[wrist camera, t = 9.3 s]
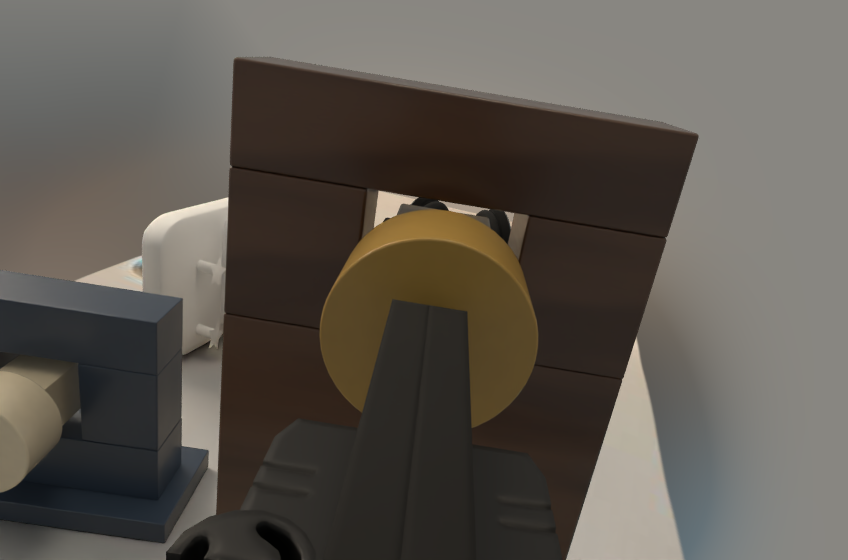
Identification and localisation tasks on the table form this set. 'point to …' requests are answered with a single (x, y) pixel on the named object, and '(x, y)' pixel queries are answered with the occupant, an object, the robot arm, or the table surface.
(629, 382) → the table surface
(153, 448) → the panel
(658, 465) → the table surface
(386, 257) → the knob front
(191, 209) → the cable organizer
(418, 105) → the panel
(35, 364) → the knob back
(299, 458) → the robot arm
